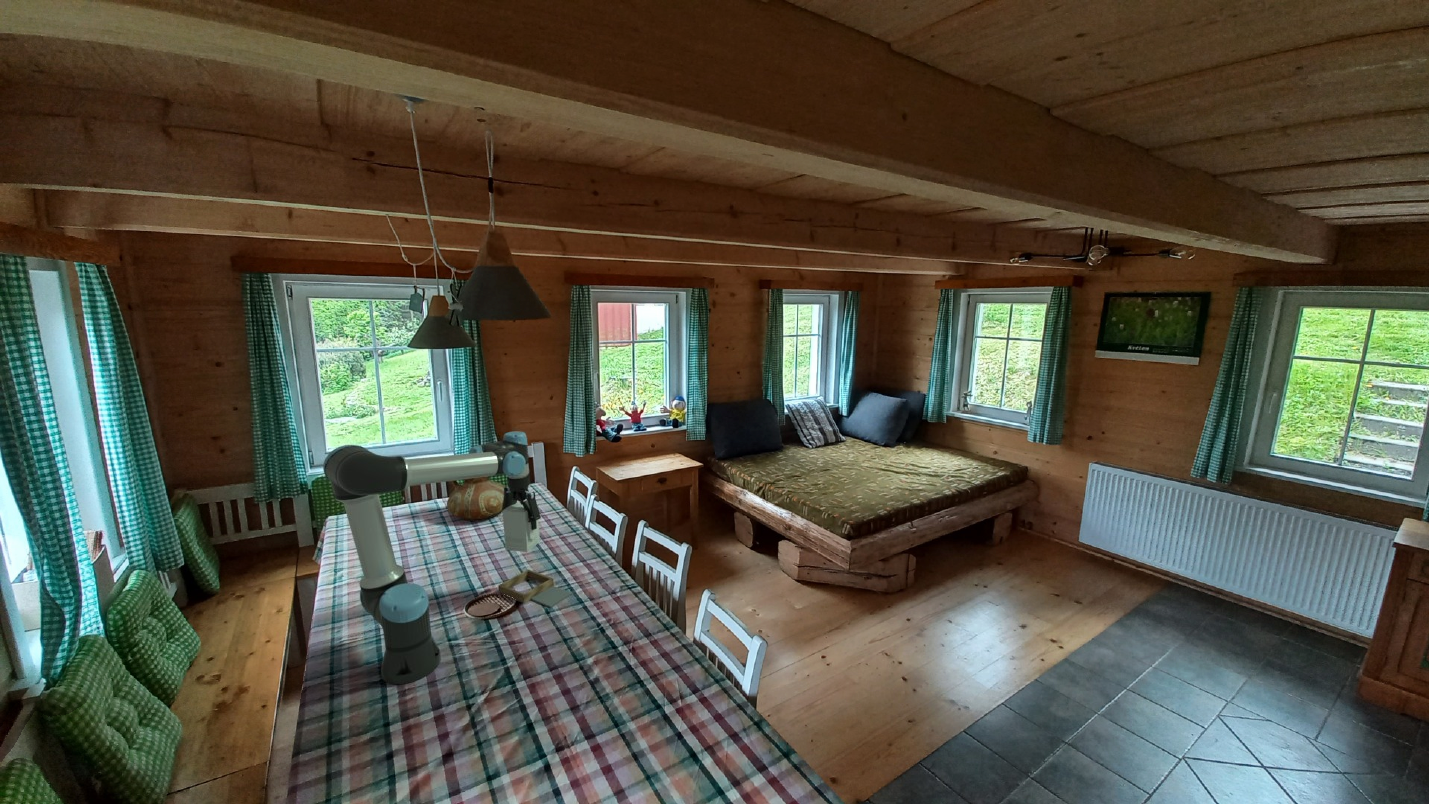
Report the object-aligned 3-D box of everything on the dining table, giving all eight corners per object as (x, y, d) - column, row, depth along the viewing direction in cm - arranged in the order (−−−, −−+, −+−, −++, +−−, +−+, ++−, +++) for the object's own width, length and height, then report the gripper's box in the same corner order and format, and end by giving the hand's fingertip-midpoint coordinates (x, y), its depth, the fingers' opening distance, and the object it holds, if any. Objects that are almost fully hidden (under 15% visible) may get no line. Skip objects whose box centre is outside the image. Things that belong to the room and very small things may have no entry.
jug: (502, 498, 290) (498, 453, 286) (523, 514, 267) (519, 466, 263) (442, 512, 272) (437, 464, 267) (458, 531, 249) (453, 479, 244)
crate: (524, 603, 189) (523, 595, 189) (498, 593, 196) (498, 585, 195) (553, 586, 201) (553, 578, 200) (528, 576, 208) (528, 569, 207)
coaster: (550, 607, 186) (550, 606, 186) (531, 599, 191) (530, 598, 191) (572, 594, 195) (572, 593, 195) (552, 587, 200) (552, 585, 200)
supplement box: (540, 541, 198) (538, 503, 196) (527, 552, 190) (525, 512, 187) (518, 539, 200) (516, 501, 198) (504, 549, 192) (501, 510, 189)
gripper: (549, 477, 187) (552, 537, 192) (505, 467, 199) (510, 523, 203) (531, 483, 181) (535, 545, 185) (488, 472, 193) (492, 531, 197)
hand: (522, 534), depth 194 cm, fingers closed on supplement box, 10 cm apart
